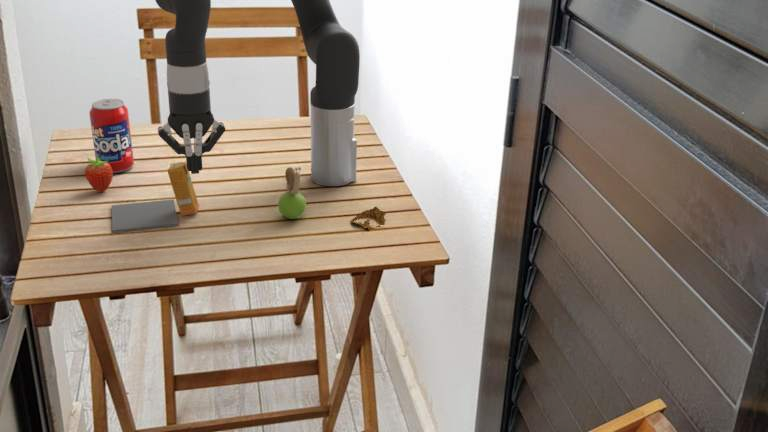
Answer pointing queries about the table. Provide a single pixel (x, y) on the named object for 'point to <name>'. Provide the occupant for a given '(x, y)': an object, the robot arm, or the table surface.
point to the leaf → (370, 217)
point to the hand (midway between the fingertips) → (194, 172)
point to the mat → (143, 215)
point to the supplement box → (183, 188)
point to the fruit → (99, 174)
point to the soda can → (112, 133)
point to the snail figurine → (292, 196)
